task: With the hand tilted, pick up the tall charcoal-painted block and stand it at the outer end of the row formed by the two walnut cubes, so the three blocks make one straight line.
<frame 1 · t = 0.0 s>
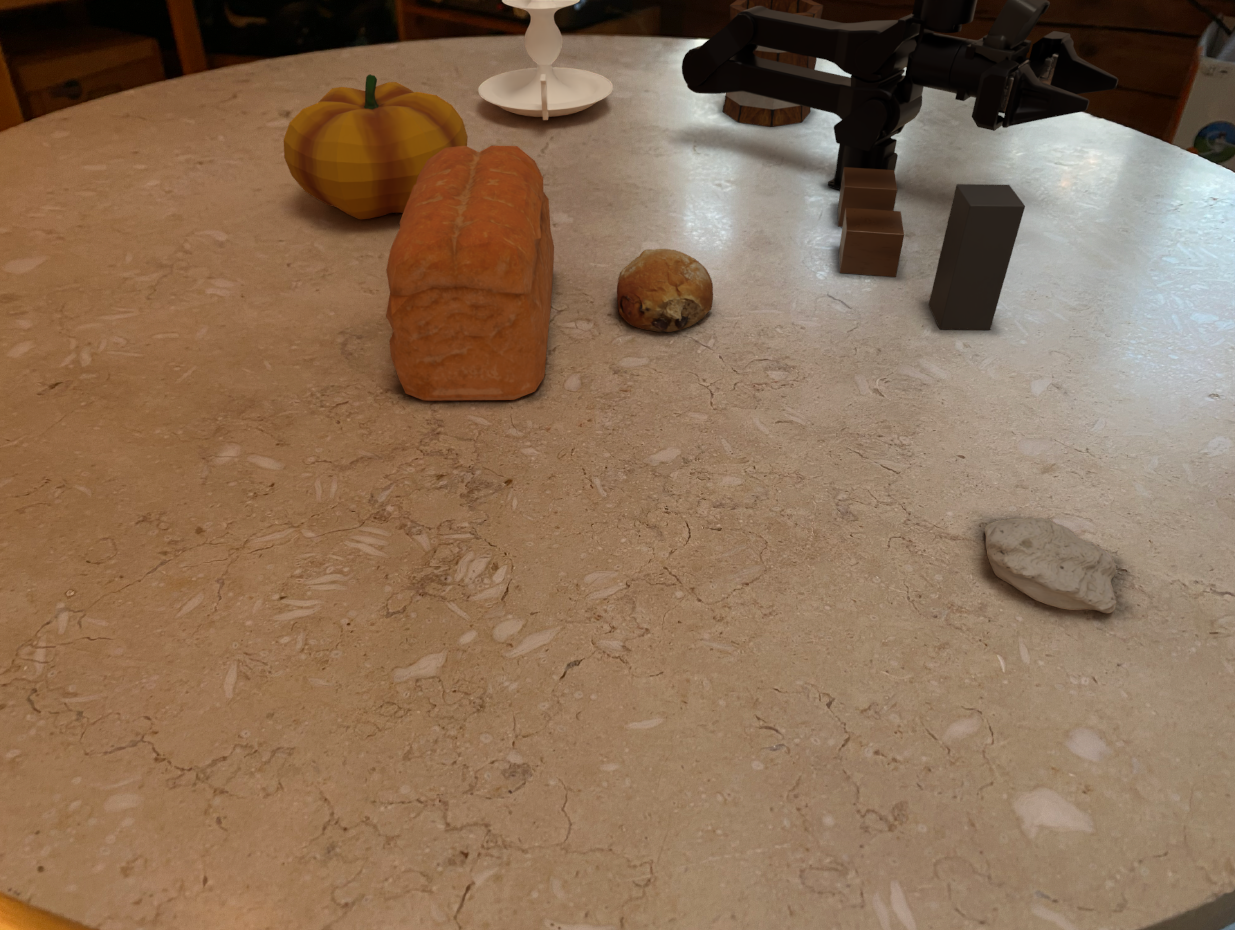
hand: (1102, 94, 99), 17 cm above the table, tool horizontal, fingers open, 9 cm apart
tall block: (958, 317, 95), on the table
bread roll: (663, 312, 97), on the table
mug: (764, 106, 147), on the table
stone: (1046, 571, 67), on the table
block b: (866, 262, 105), on the table
candlestick: (546, 114, 144), on the table
decorative pumpkin: (387, 201, 119), on the table
bread: (483, 328, 94), on the table
block a: (863, 218, 114), on the table
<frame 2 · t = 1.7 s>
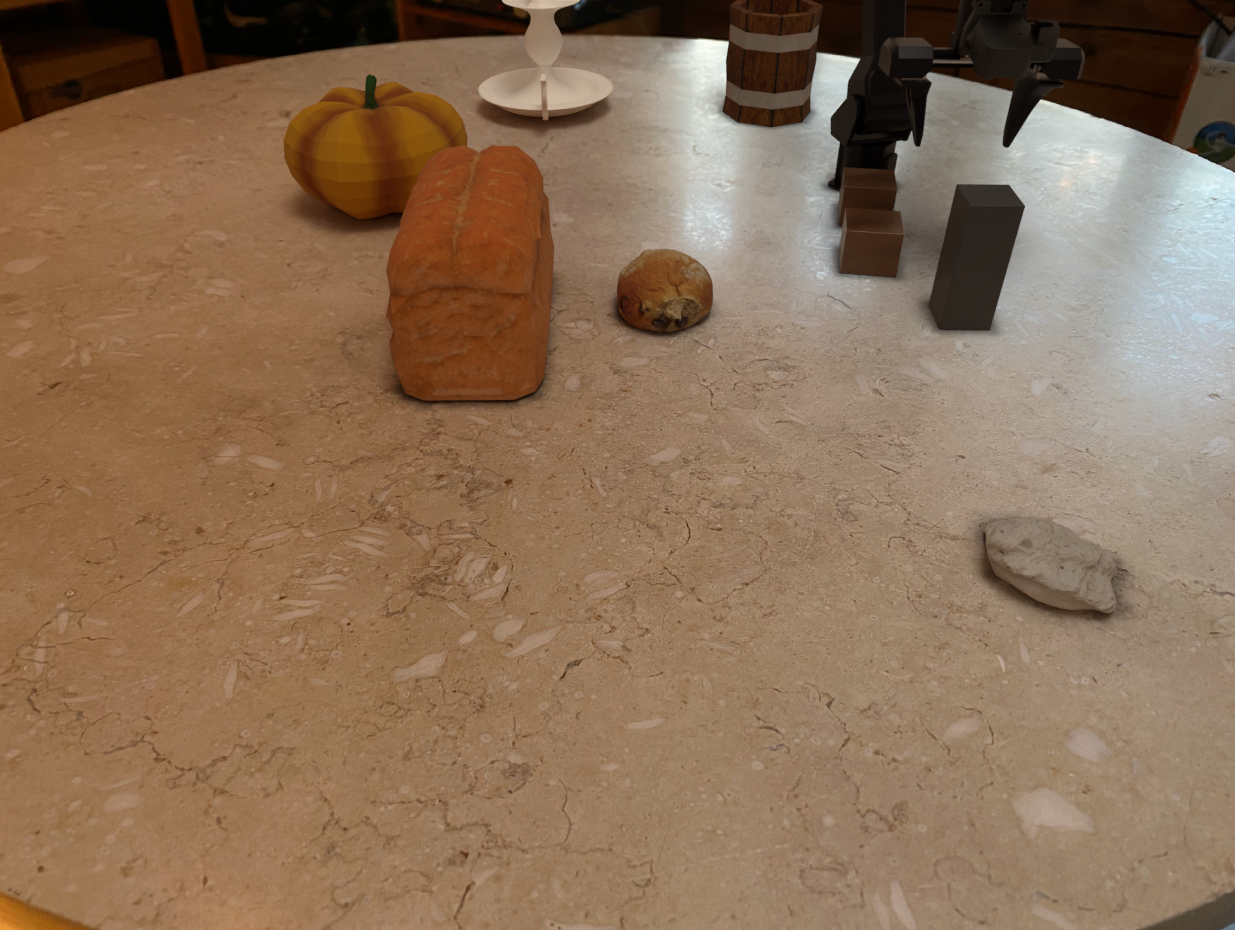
hand: (961, 146, 98), 12 cm above the table, tool pointing down, fingers open, 9 cm apart
nothing on the table moved.
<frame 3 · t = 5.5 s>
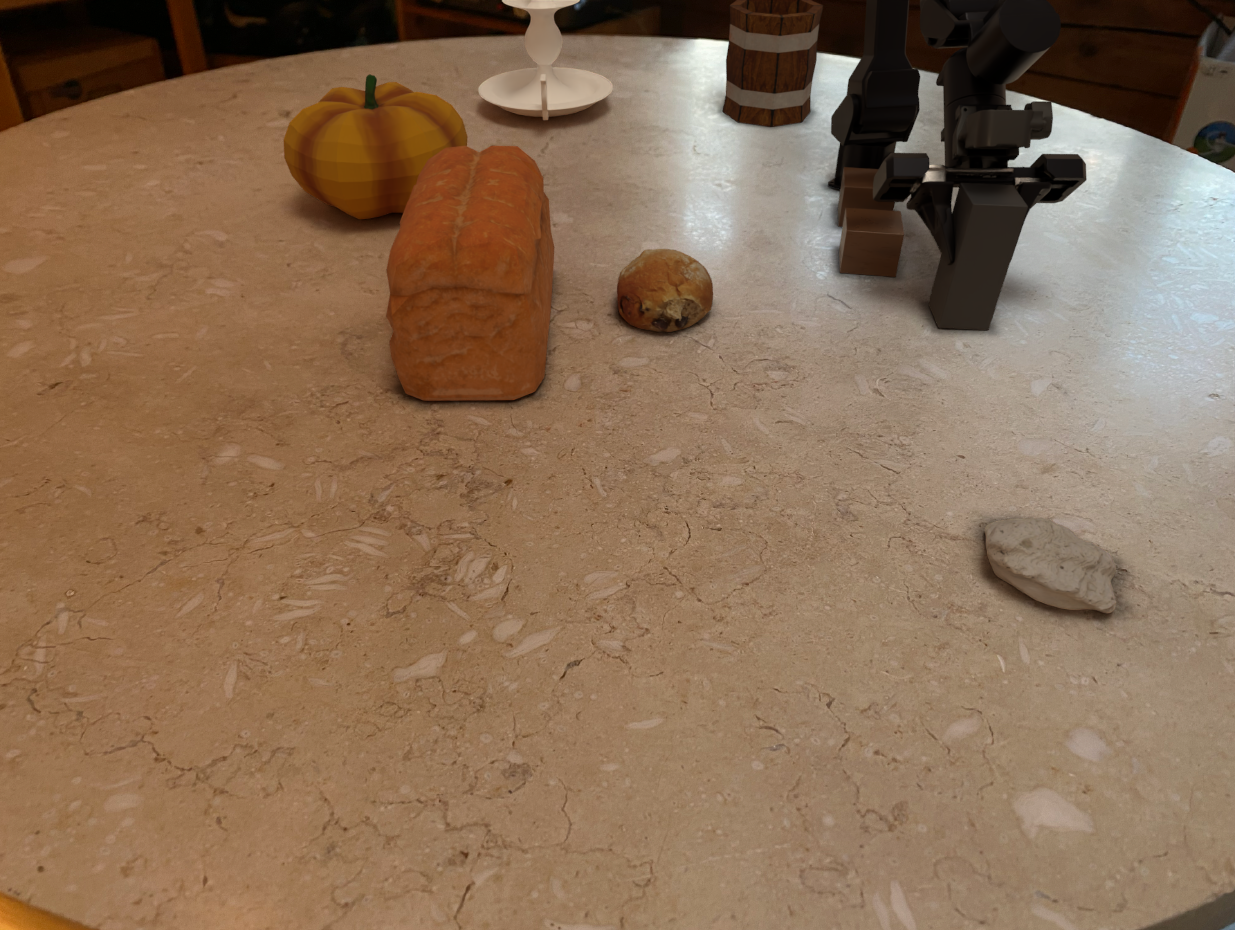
hand: (978, 264, 90), 7 cm above the table, tool tilted 45°, fingers closed on tall block, 5 cm apart
tall block: (957, 316, 95), on the table, touching gripper
everything else where it was.
when the fingers open (7 cm above the table, at t = 10.5 s): tall block stays where it is, on the table.
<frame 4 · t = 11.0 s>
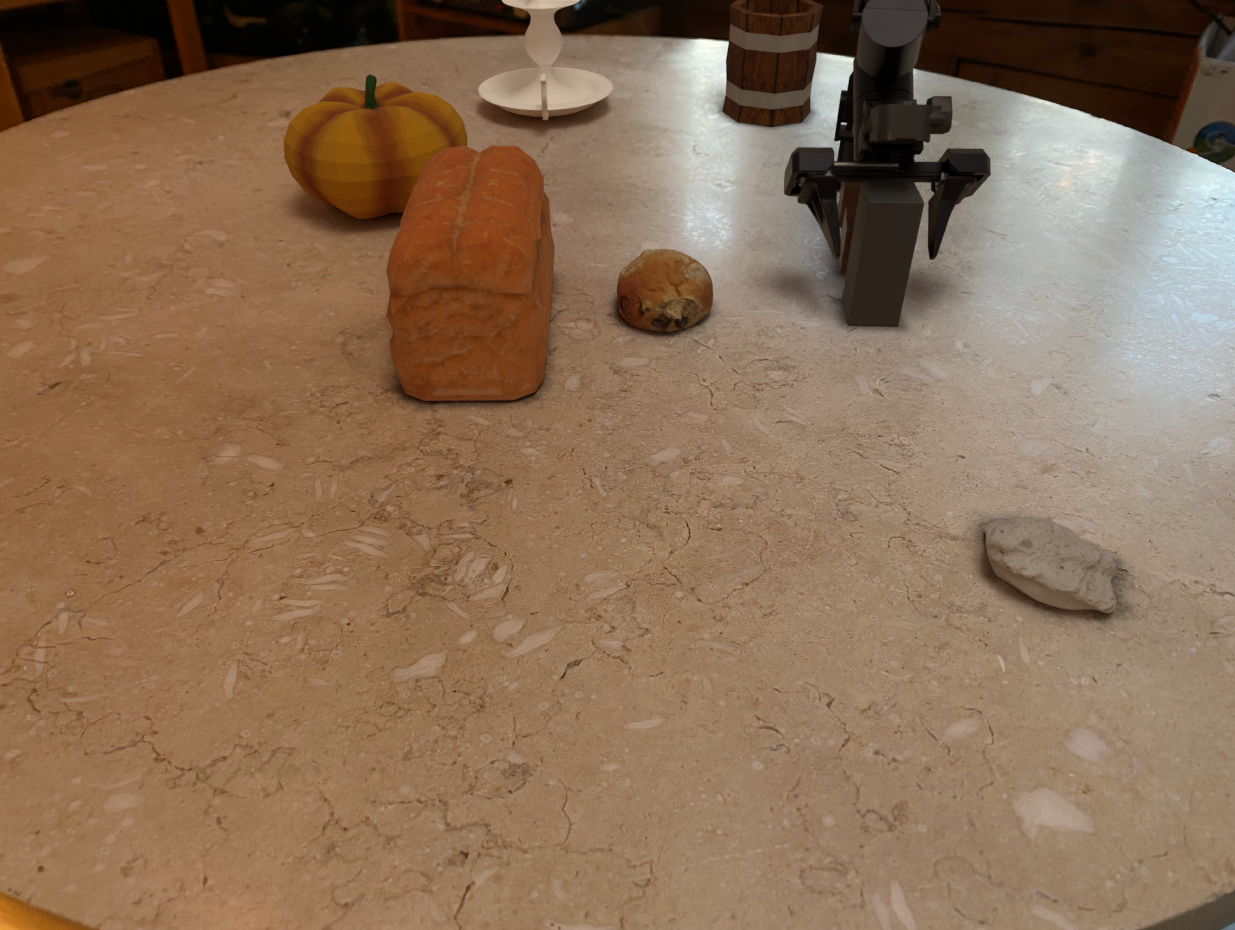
hand: (885, 258, 90), 7 cm above the table, tool tilted 45°, fingers open, 9 cm apart
tall block: (869, 313, 96), on the table
everything else where it was.
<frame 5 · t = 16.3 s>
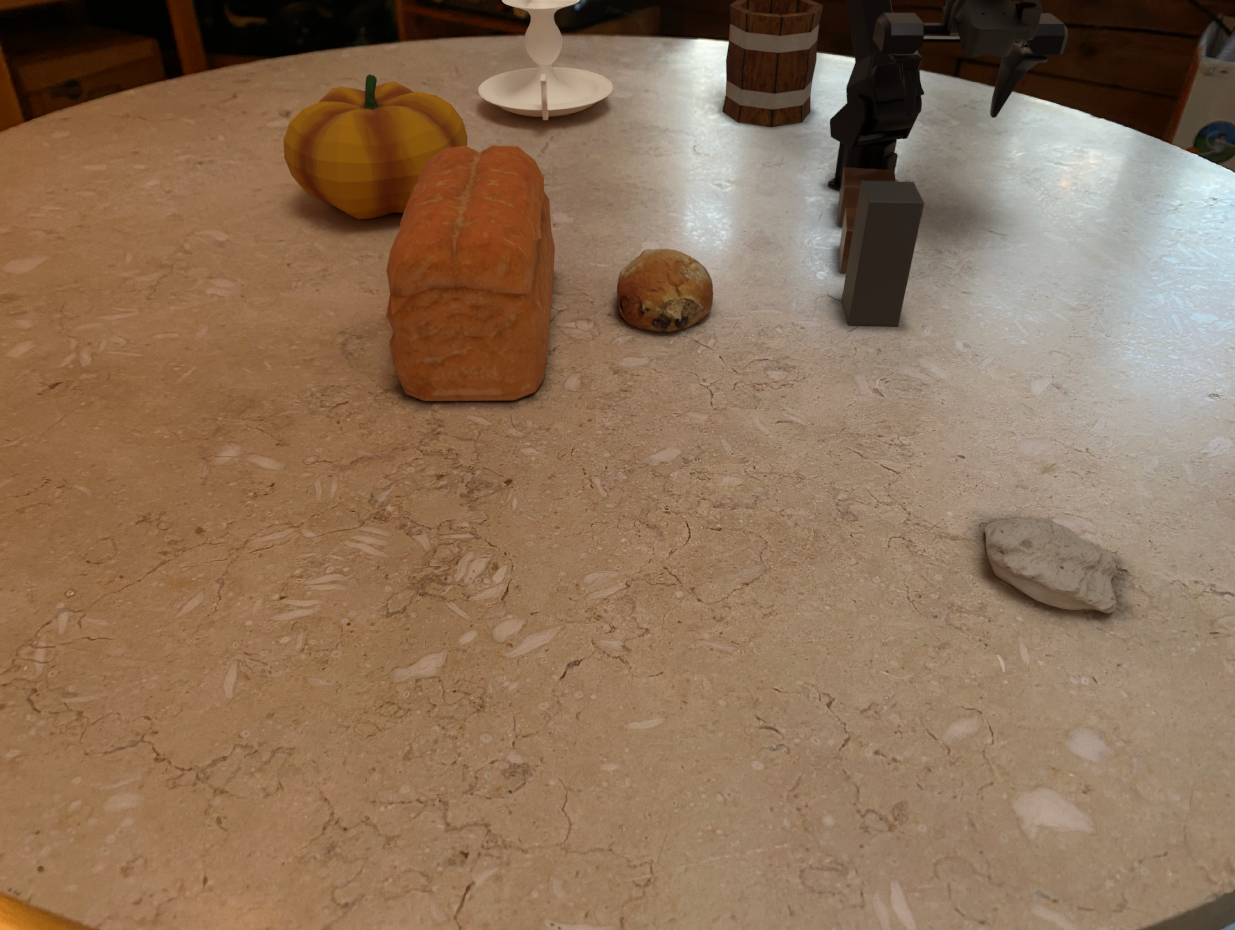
hand: (950, 116, 104), 13 cm above the table, tool pointing down, fingers open, 9 cm apart
nothing on the table moved.
at the end: tall block 0.2 cm from the target spot on the table beside the block a, on the table; tall block tilted 0°; the gripper is holding nothing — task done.
